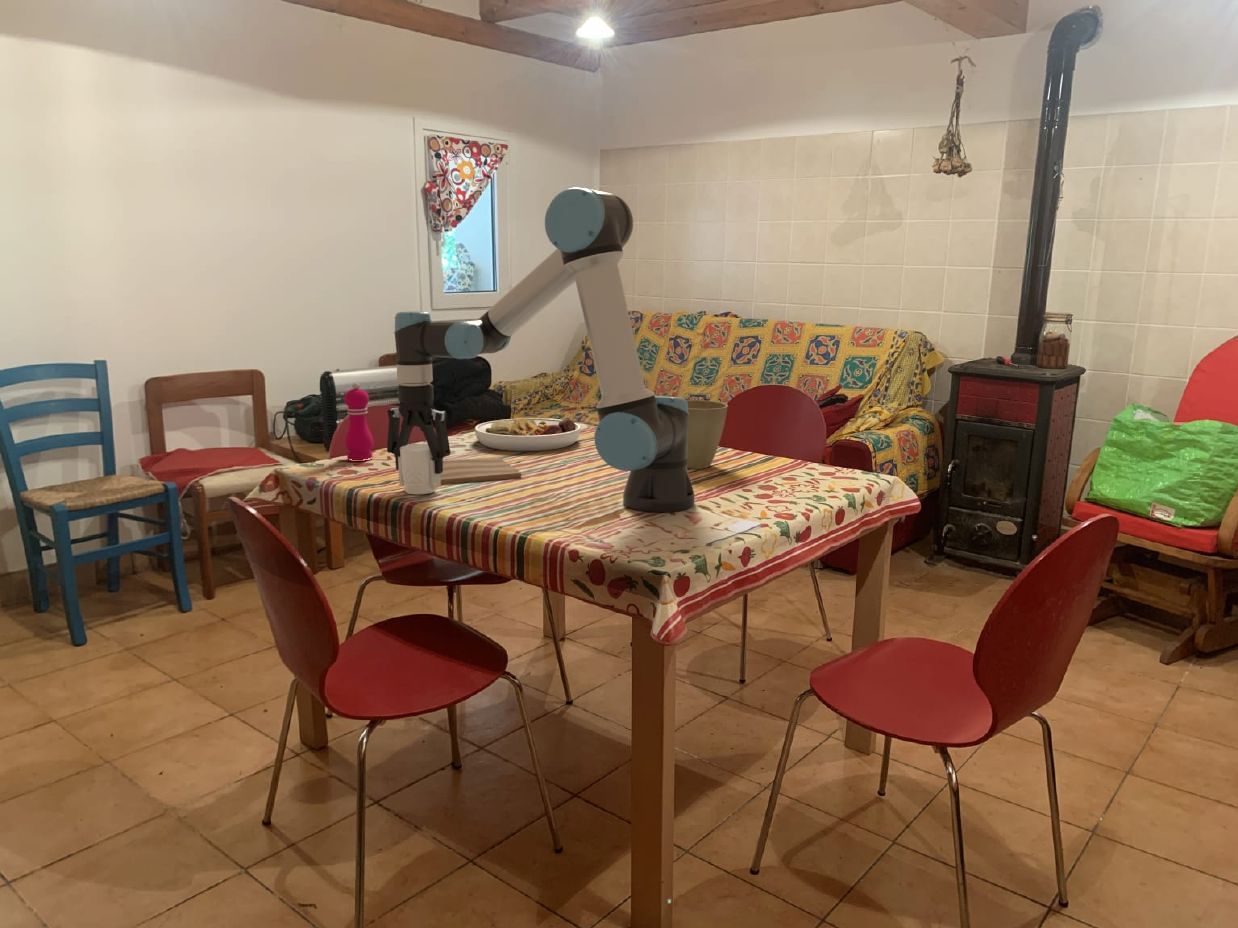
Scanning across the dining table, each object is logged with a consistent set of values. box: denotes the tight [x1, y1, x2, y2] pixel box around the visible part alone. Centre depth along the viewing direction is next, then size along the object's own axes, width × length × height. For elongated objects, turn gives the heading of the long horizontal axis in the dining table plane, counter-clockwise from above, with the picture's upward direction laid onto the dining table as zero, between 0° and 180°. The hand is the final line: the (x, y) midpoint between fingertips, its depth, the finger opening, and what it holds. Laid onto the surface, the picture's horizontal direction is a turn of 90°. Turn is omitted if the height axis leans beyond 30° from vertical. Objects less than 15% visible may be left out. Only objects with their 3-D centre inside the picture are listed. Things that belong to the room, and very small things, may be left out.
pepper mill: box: [343, 382, 375, 460], centre depth 229 cm, size 7×7×20 cm
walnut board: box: [440, 456, 522, 486], centre depth 217 cm, size 20×20×1 cm
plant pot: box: [685, 399, 729, 470], centre depth 224 cm, size 15×15×16 cm
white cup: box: [400, 443, 436, 496], centre depth 197 cm, size 8×8×10 cm
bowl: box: [474, 417, 582, 452], centre depth 255 cm, size 30×30×8 cm
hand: (420, 485), depth 198 cm, fingers closed on white cup, 8 cm apart
